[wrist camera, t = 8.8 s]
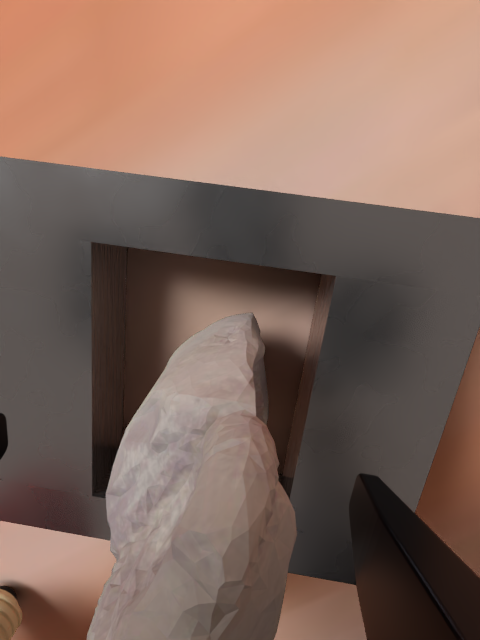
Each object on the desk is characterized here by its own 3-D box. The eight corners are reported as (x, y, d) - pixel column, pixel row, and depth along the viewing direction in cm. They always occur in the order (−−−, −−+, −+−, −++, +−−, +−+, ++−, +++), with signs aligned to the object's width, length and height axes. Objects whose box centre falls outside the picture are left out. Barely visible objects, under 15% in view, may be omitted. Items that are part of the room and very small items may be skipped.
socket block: (369, 527, 15) (387, 590, 12) (32, 469, 15) (-12, 518, 13) (463, 218, 11) (515, 223, 9) (11, 160, 12) (-56, 149, 9)
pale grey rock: (270, 441, 14) (259, 951, 4) (179, 429, 14) (-14, 894, 5) (290, 292, 12) (340, 626, 3) (185, 281, 12) (-117, 555, 3)
